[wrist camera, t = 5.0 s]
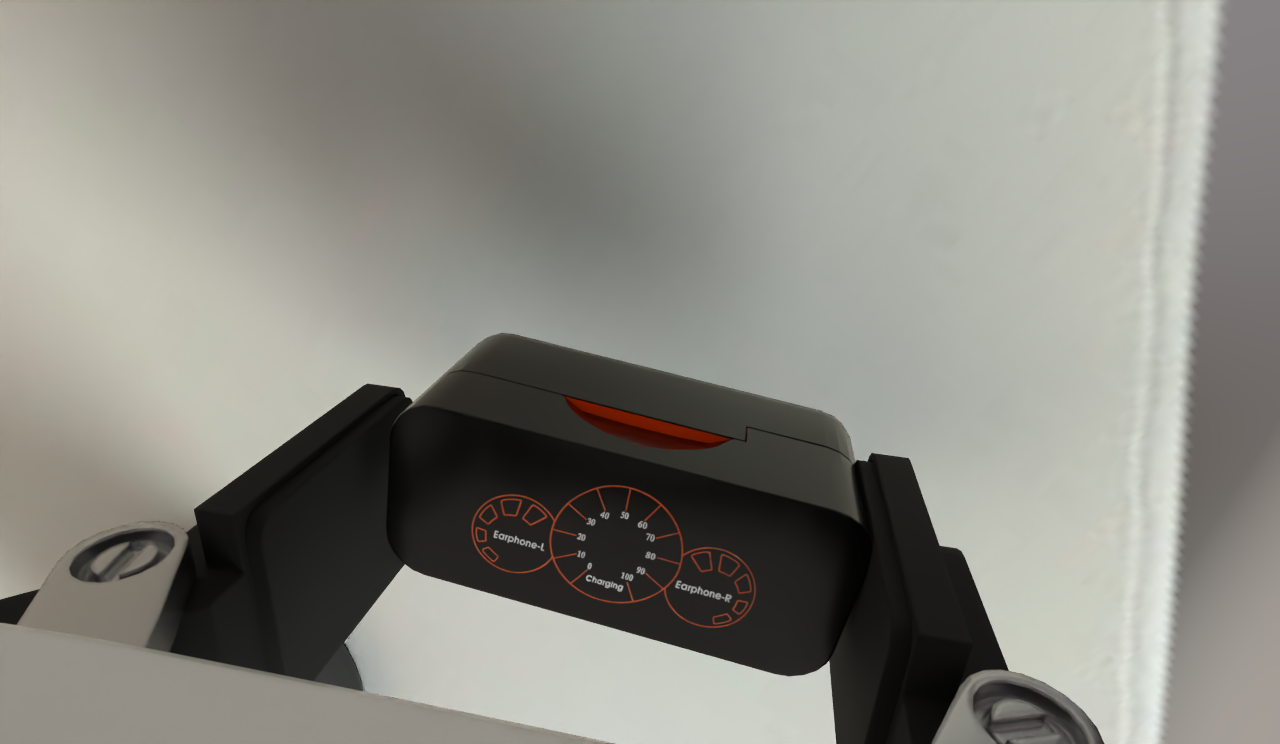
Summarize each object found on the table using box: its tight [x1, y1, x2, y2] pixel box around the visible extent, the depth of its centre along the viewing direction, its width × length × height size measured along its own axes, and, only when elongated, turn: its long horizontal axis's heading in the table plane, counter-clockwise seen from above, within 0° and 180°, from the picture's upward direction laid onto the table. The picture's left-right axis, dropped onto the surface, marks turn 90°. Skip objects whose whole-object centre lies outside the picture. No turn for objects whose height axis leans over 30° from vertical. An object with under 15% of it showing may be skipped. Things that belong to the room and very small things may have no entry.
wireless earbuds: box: [386, 333, 873, 676], centre depth 11 cm, size 5×7×3 cm, turn 79°
